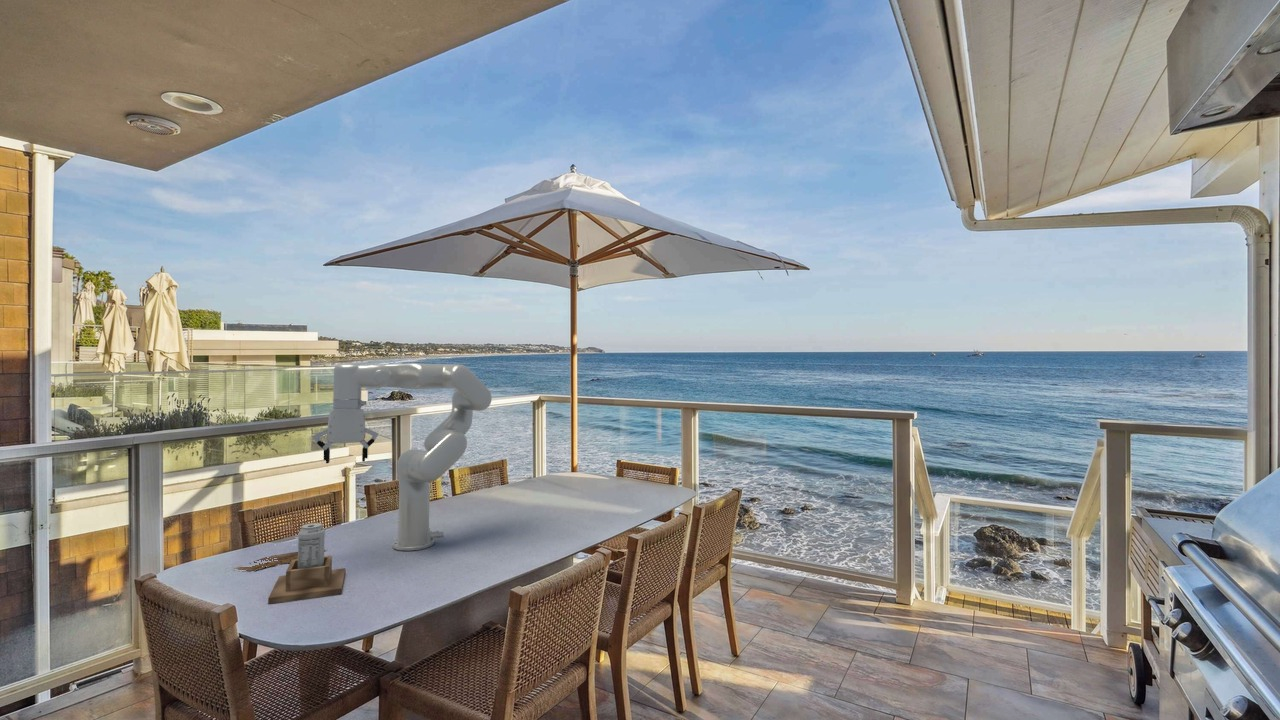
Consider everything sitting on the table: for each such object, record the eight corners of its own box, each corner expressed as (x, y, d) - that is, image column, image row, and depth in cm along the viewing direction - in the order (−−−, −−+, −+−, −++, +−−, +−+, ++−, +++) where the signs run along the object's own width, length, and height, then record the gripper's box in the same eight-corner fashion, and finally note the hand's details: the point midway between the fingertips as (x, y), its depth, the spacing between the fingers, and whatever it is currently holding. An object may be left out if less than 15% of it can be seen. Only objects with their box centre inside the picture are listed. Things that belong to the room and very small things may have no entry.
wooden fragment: (238, 576, 157) (238, 572, 157) (228, 566, 164) (228, 563, 164) (336, 555, 176) (336, 551, 176) (323, 547, 183) (323, 544, 183)
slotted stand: (345, 573, 159) (345, 550, 159) (341, 594, 145) (341, 568, 145) (279, 581, 153) (279, 557, 153) (268, 604, 138) (268, 577, 138)
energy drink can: (327, 577, 152) (329, 522, 152) (315, 586, 146) (317, 528, 146) (305, 577, 152) (306, 522, 152) (292, 586, 146) (293, 528, 146)
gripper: (378, 404, 176) (377, 458, 176) (315, 404, 169) (314, 461, 168) (378, 405, 169) (377, 462, 169) (312, 406, 162) (311, 465, 162)
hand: (345, 461), depth 169 cm, fingers open, 9 cm apart
